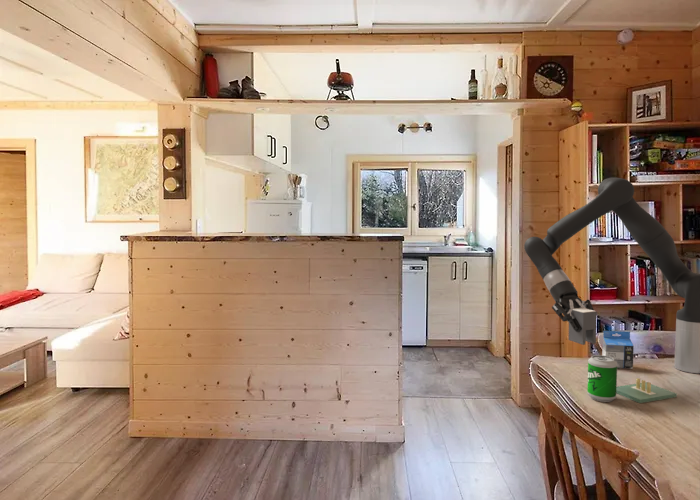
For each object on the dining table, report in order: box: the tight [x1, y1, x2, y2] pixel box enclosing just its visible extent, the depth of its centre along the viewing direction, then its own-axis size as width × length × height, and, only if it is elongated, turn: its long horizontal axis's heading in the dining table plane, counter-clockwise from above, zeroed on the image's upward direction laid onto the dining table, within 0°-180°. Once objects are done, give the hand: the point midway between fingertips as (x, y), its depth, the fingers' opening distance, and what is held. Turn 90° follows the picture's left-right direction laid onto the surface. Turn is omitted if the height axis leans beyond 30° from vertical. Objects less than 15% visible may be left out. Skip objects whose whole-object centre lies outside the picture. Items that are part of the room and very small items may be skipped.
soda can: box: [586, 354, 618, 403], centre depth 138 cm, size 8×8×12 cm
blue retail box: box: [601, 330, 635, 370], centre depth 166 cm, size 9×4×12 cm, turn 77°
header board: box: [616, 377, 678, 404], centre depth 141 cm, size 14×10×4 cm
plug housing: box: [568, 308, 597, 346], centre depth 149 cm, size 5×6×10 cm
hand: (586, 329), depth 147 cm, fingers closed on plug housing, 5 cm apart
